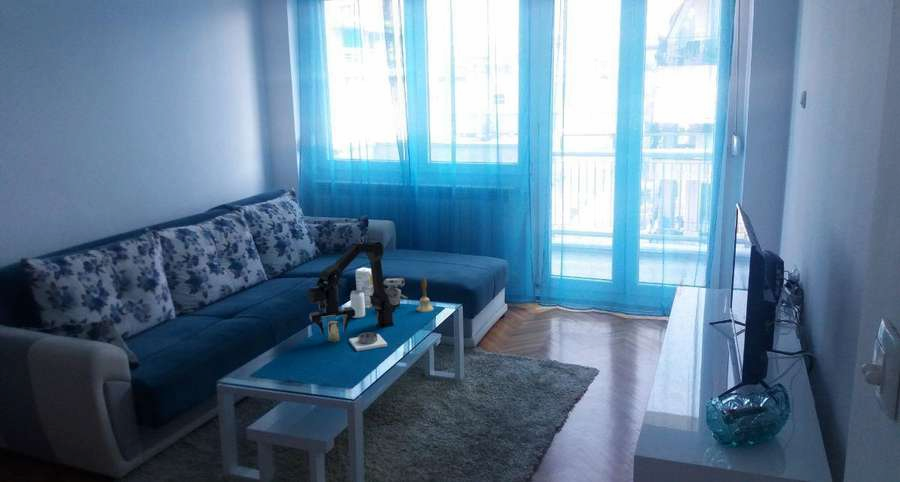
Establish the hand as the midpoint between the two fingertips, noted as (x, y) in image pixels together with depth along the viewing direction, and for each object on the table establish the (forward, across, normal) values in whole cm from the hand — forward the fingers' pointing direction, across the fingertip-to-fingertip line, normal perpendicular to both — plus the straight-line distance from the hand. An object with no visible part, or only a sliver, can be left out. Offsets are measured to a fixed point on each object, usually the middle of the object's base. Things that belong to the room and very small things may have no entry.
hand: (333, 333), depth 297 cm
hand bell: (+3, -50, -23) cm, 55 cm away
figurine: (+3, -38, -32) cm, 50 cm away
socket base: (+3, -12, +11) cm, 17 cm away
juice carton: (+3, -26, -42) cm, 50 cm away
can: (+3, -18, -28) cm, 33 cm away
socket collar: (+2, -12, +11) cm, 16 cm away
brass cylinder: (+3, 0, 0) cm, 3 cm away
